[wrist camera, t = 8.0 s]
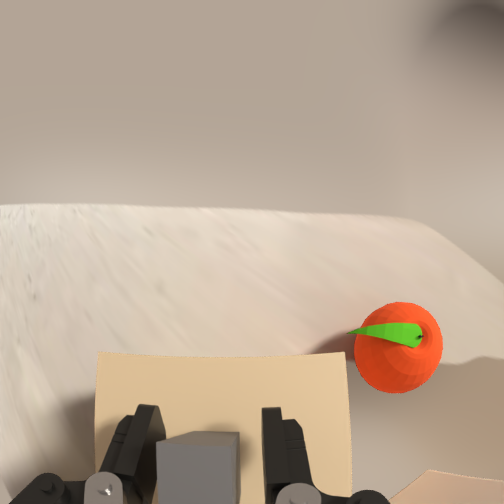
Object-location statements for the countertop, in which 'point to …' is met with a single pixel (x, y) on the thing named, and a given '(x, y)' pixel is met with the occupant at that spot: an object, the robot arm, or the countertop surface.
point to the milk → (450, 490)
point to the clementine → (398, 347)
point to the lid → (228, 419)
